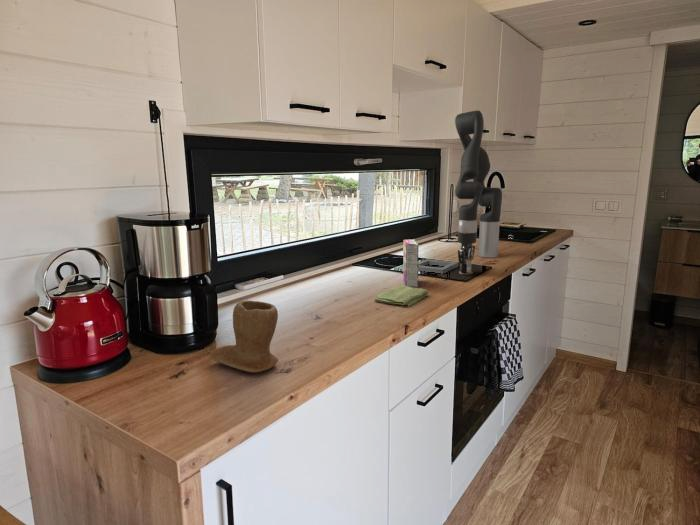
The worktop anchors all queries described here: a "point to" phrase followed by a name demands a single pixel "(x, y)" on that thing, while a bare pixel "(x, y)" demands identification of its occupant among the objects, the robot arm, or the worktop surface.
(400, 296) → the washcloth
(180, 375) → the worktop surface
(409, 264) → the candy bar box
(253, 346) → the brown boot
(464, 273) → the cord spool
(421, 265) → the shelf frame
